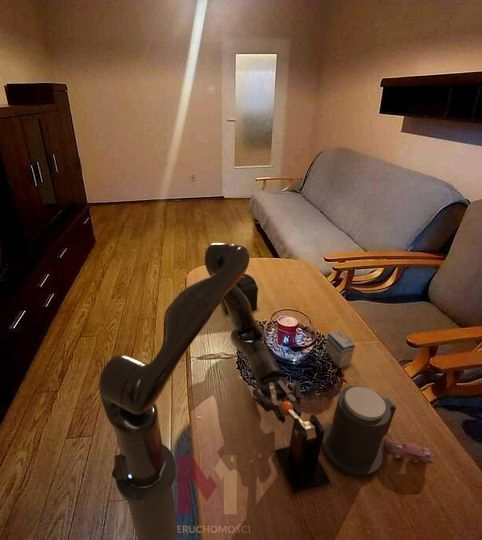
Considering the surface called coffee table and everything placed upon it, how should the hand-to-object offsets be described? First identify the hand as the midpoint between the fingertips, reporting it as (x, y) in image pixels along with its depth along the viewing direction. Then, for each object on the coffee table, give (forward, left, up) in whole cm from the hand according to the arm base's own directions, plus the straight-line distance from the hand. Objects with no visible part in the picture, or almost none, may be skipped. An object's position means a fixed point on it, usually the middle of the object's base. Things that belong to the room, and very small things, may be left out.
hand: (291, 418), depth 85 cm
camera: (+6, +60, -9) cm, 61 cm away
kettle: (+14, -6, -9) cm, 18 cm away
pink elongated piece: (+26, -11, -9) cm, 30 cm away
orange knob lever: (0, -3, +1) cm, 3 cm away
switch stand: (0, -7, -9) cm, 11 cm away
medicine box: (+28, +23, -9) cm, 37 cm away
